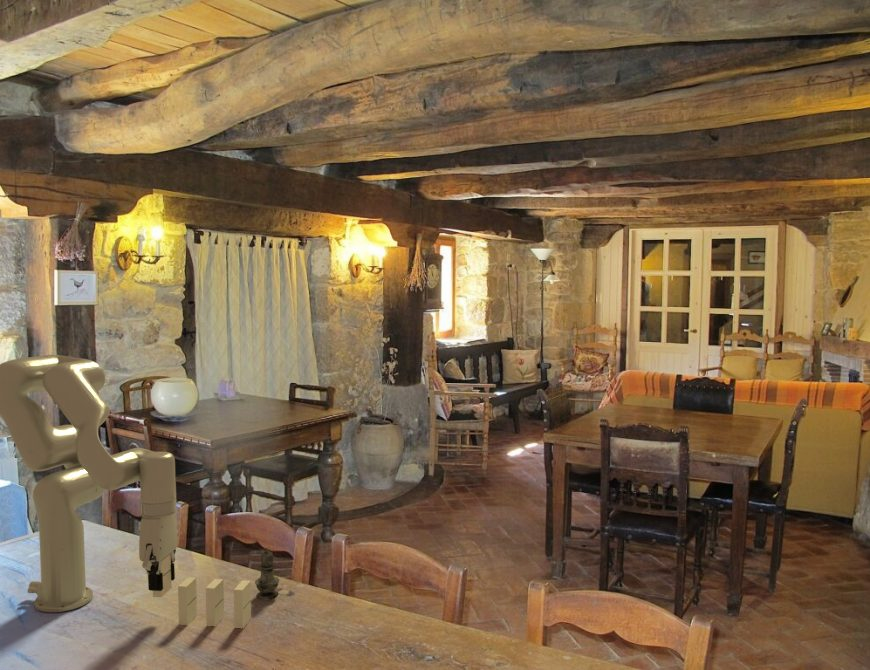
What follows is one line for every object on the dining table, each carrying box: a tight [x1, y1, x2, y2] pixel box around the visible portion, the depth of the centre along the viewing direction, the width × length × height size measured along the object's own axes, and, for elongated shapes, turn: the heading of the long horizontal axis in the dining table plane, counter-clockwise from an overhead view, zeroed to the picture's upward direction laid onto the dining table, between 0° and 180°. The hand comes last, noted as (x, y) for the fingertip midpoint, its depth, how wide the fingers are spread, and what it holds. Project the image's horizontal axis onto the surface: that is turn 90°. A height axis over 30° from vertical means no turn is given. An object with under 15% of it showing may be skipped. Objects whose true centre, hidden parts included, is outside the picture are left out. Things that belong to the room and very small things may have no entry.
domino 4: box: [233, 579, 252, 630], centre depth 168 cm, size 2×5×9 cm, turn 173°
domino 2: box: [177, 576, 198, 626], centre depth 169 cm, size 2×5×9 cm, turn 173°
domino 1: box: [152, 554, 173, 598], centre depth 170 cm, size 2×5×9 cm, turn 173°
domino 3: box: [205, 578, 225, 628], centre depth 169 cm, size 2×5×9 cm, turn 173°
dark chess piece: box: [254, 547, 280, 601], centre depth 183 cm, size 6×6×12 cm
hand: (161, 584), depth 170 cm, fingers closed on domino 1, 4 cm apart
